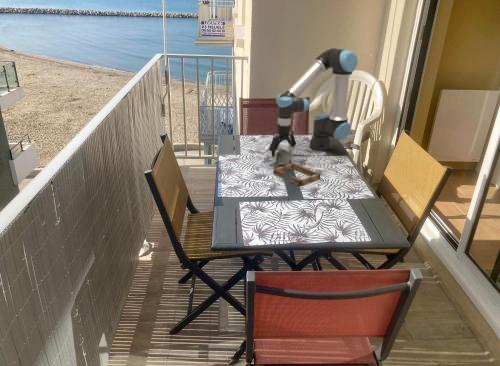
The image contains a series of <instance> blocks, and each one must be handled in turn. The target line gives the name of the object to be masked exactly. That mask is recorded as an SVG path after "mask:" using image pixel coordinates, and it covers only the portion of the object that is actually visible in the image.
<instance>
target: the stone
mask: <svg viewBox="0 0 500 366" xmlns="http://www.w3.org/2000/svg"><path fill="white" fill-rule="evenodd" d="M288 152H289V151H287V150H285V149H283V148H280V149H279V150H278V151H276V162H273V163H274V164H275V165H276V166H280V165H286V164H289V163H290V164H291V160H292V157H290V154H289V153H288Z"/></svg>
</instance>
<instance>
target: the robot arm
mask: <svg viewBox="0 0 500 366" xmlns="http://www.w3.org/2000/svg"><path fill="white" fill-rule="evenodd" d="M357 66H358V57H357V55H356V53H355V52H353V51H352V50H350V49H349V50H348V49H344V48H343V49H341V48H336V47H334V48H333V47H332V48H329V49H327V50H324V51H323V52H322V53H320V54H319V55H318V56H317V57H316V58H315V59H314V60H313V63H312V64H311V65H310V66H309V68H307V69H306V71H304V73H303V74H301V75H300V77H299V78H298V79H297V80H295V82H293V84H292V85H291V86H290V87H289V88H288V89H287V90H286V91H285V92H284V93H279V94H277V96H276V98H275V103H276V104H277V105H278V109H277V110H278V111H277V112H278V113H277V127H276V129H277V133H273V138H272V140H271V143H270V145H269V148H268V150H269V151H270V152H271V161H272V163H274V162H276V153H277V150H278V147H279V146H280V144H281V143H282V142H284V141H286V142H287V143H288V151H287V152H288V153H289V154H290V157H291V158H293V152H294V148H295V147H296V145H297V141H296V137H295V136H294V135H295V134H294V131H293V130H291V128H292V127H291V126H292V114H298V113H305V112H307V111H308V110H309V108H310V102H309V100H308V99H307V98H304V97H303V98H299V97H300V96H301V95H302V94H303V93H304V92H305V91H306V90H307V88H308V87H309V86H311V84H312V83H314V82H315V80H317V78H318V77H319V76H320V75H321V74H322V73H325V72H326V71H327V70H329V69H332V72H331V73H332V75H333V76H334V80H333V81H334V82H333V95H332V106H331V107H332V108H331V113H329V112H326V113H325V112H323V113H316V114H315V115H314V119H313V128H312V129H313V130H312V136H311V139H310V141H309V145H308V147H309V148H310V149H311V150H313V151H318V152H328V151H331V150H332V149H333V143H332V140H331V138H333V139H334V140H339V141H341V140H345V139H346V138H347V137H348V136H349V135H350V133H351V131H352V126H351V124H350V123H349V121H348V120H349V117H348V116H347V115H346V114H347V104H348V93H349V85H350V76H351V75H353V72H354V71H355V70H356V68H357Z"/></svg>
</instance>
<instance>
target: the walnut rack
mask: <svg viewBox="0 0 500 366" xmlns="http://www.w3.org/2000/svg"><path fill="white" fill-rule="evenodd" d="M292 170H294V171H297V172H299V173H301V174H304V175H306V177H305V178H302V179H300V178H298V177H295V176H294V175H292V176H290V179H289V181H290V183H292V184H294V185H297V186H299V187H303V186H305V185H308V184H310V183H313V182H316V181H319V180H321V176H322V175H321V173H318V172H316V171H314V170H312V169H309V168H306V167H304V166H302V165H299V164H297V163H294V162H293V163H290V164H289V165H286V166H283V167H279V168H274V169H273V171H272V172H273V175H274V174H275V176H276V175H277V176H276V177H278V176H279V178H280V179H284V178H285V173H286V172H289V171H292Z"/></svg>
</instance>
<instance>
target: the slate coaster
mask: <svg viewBox="0 0 500 366" xmlns="http://www.w3.org/2000/svg"><path fill="white" fill-rule="evenodd" d="M289 164H291V162H290V163H289ZM289 164H286V165H289ZM286 165H280V166H276V165H275V164H274V162H272V163H268V166H270V167H272V166H273V167H272V168H274V169H276V168H279V167H283V166H286Z"/></svg>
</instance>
